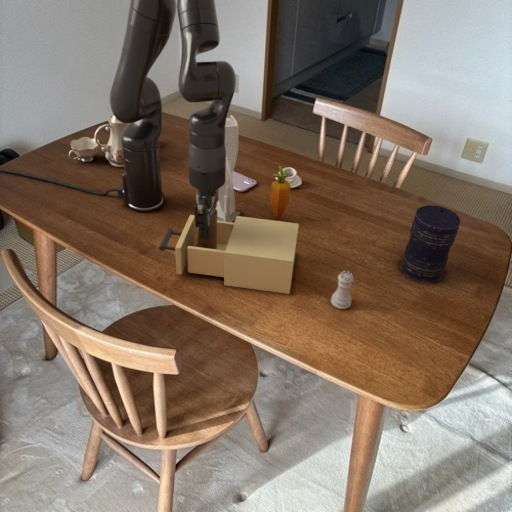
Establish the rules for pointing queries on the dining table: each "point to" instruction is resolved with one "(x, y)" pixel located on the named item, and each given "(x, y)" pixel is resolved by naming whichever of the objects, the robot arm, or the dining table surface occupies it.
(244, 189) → the mobile phone
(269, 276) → the cabinet
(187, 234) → the drawer
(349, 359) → the dining table surface
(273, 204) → the carrot
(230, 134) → the skyscraper
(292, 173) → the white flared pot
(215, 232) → the pepper mill
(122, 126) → the chinaware
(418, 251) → the storage jar
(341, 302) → the rook chess piece
